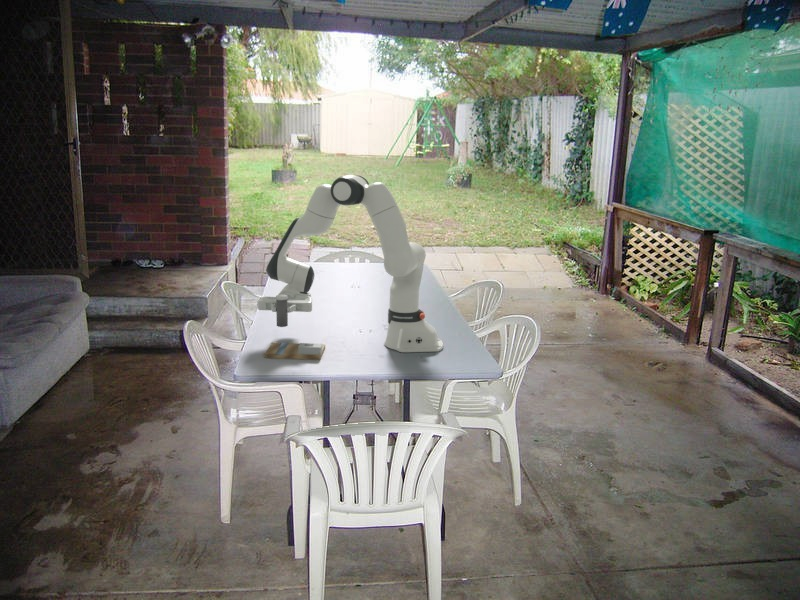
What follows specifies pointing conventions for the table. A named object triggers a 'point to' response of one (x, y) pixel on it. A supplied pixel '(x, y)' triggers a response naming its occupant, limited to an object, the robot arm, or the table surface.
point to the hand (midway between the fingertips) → (281, 310)
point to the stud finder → (310, 349)
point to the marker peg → (282, 310)
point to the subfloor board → (289, 351)
